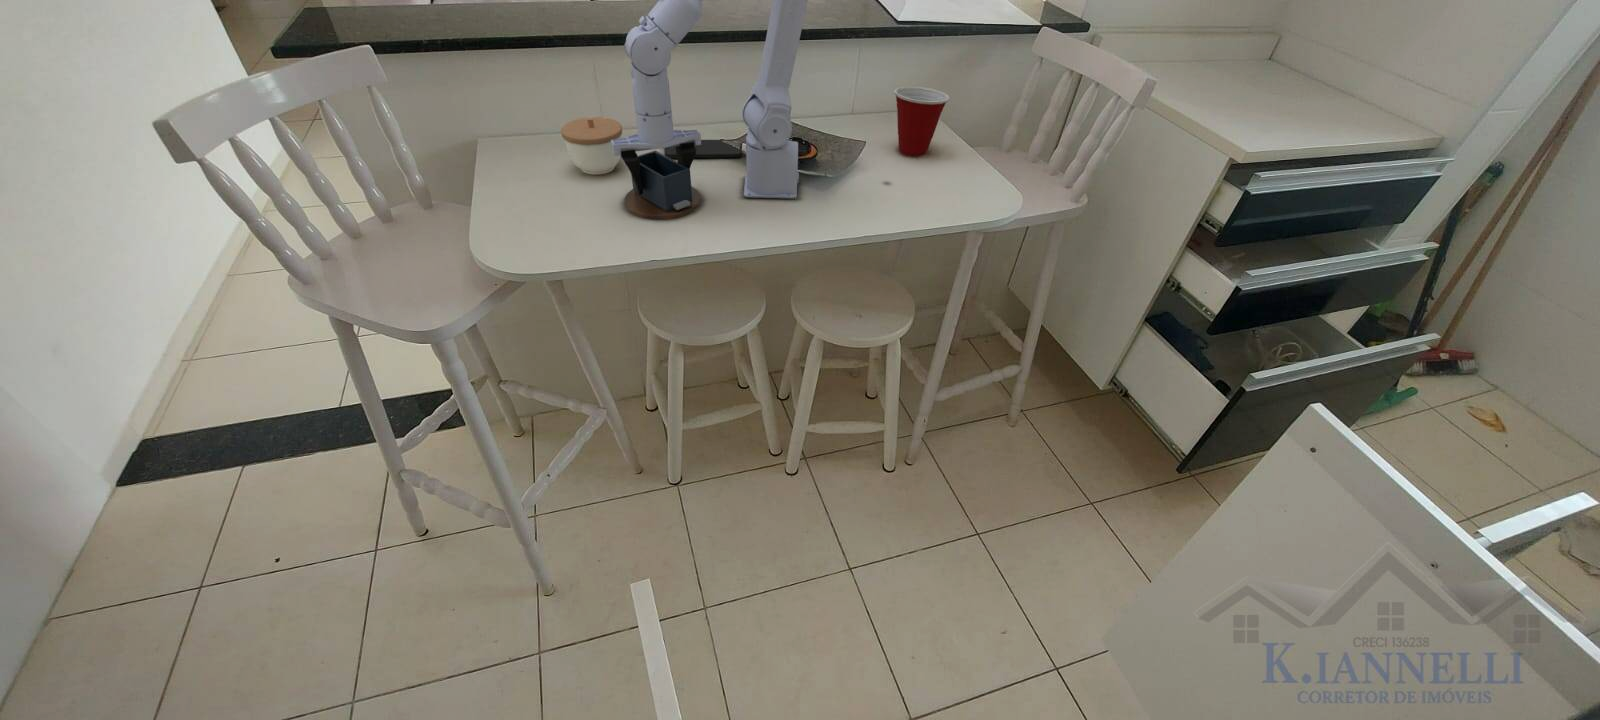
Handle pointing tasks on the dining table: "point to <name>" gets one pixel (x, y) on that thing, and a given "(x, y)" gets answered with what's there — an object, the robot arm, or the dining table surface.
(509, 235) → the dining table surface
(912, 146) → the plastic cup
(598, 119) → the trinket box
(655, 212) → the disc
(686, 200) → the bin
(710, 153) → the phone
